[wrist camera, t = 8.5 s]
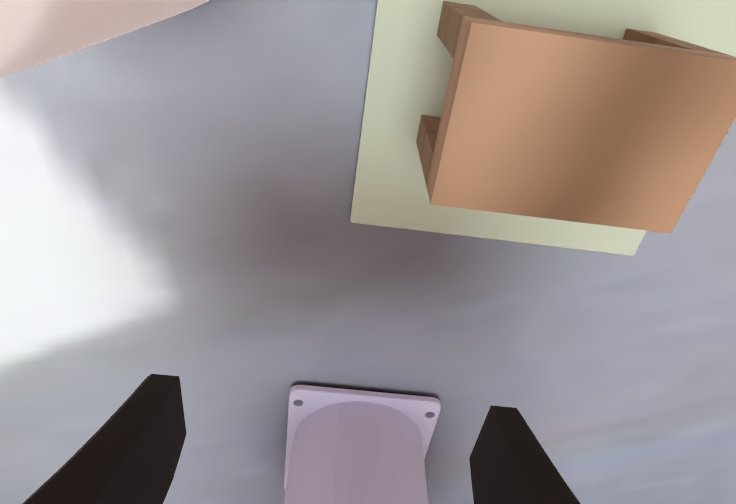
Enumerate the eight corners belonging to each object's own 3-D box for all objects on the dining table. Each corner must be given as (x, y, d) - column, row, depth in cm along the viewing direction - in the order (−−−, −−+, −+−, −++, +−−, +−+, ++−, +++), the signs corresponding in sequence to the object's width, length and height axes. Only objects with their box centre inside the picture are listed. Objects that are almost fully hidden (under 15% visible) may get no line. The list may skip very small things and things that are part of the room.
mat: (629, 250, 20) (633, 255, 20) (350, 217, 19) (349, 222, 19) (805, -94, 14) (816, -95, 13) (398, -163, 13) (398, -166, 13)
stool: (415, 141, 17) (430, 204, 13) (443, 0, 15) (471, 22, 11) (599, 165, 18) (671, 233, 14) (656, 32, 15) (764, 65, 11)
